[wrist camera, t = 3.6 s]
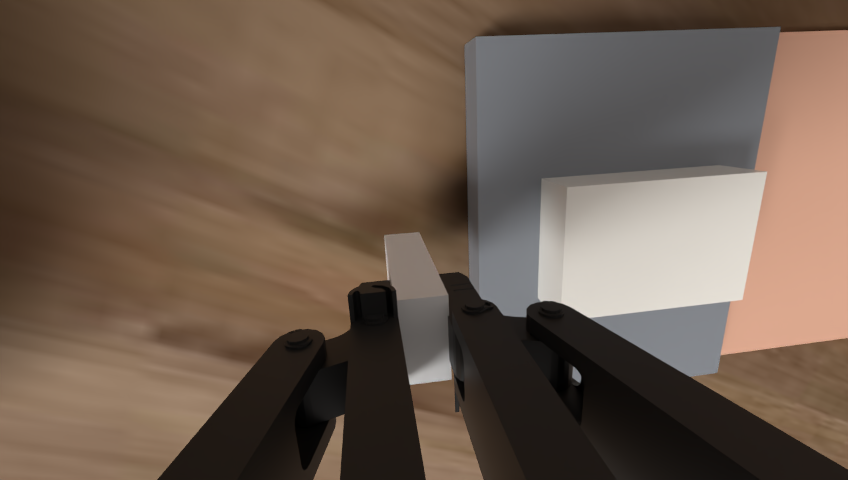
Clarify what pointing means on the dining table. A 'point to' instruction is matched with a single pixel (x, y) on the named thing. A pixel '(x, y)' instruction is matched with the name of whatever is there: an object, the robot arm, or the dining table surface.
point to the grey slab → (604, 147)
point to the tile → (647, 238)
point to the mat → (800, 202)
